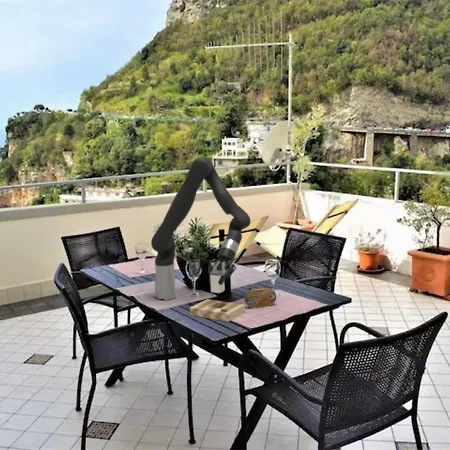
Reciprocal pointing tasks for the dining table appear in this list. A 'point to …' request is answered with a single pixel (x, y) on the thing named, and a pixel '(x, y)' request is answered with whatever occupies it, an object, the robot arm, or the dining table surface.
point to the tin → (260, 297)
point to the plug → (216, 282)
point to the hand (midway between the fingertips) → (215, 283)
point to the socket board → (217, 310)
